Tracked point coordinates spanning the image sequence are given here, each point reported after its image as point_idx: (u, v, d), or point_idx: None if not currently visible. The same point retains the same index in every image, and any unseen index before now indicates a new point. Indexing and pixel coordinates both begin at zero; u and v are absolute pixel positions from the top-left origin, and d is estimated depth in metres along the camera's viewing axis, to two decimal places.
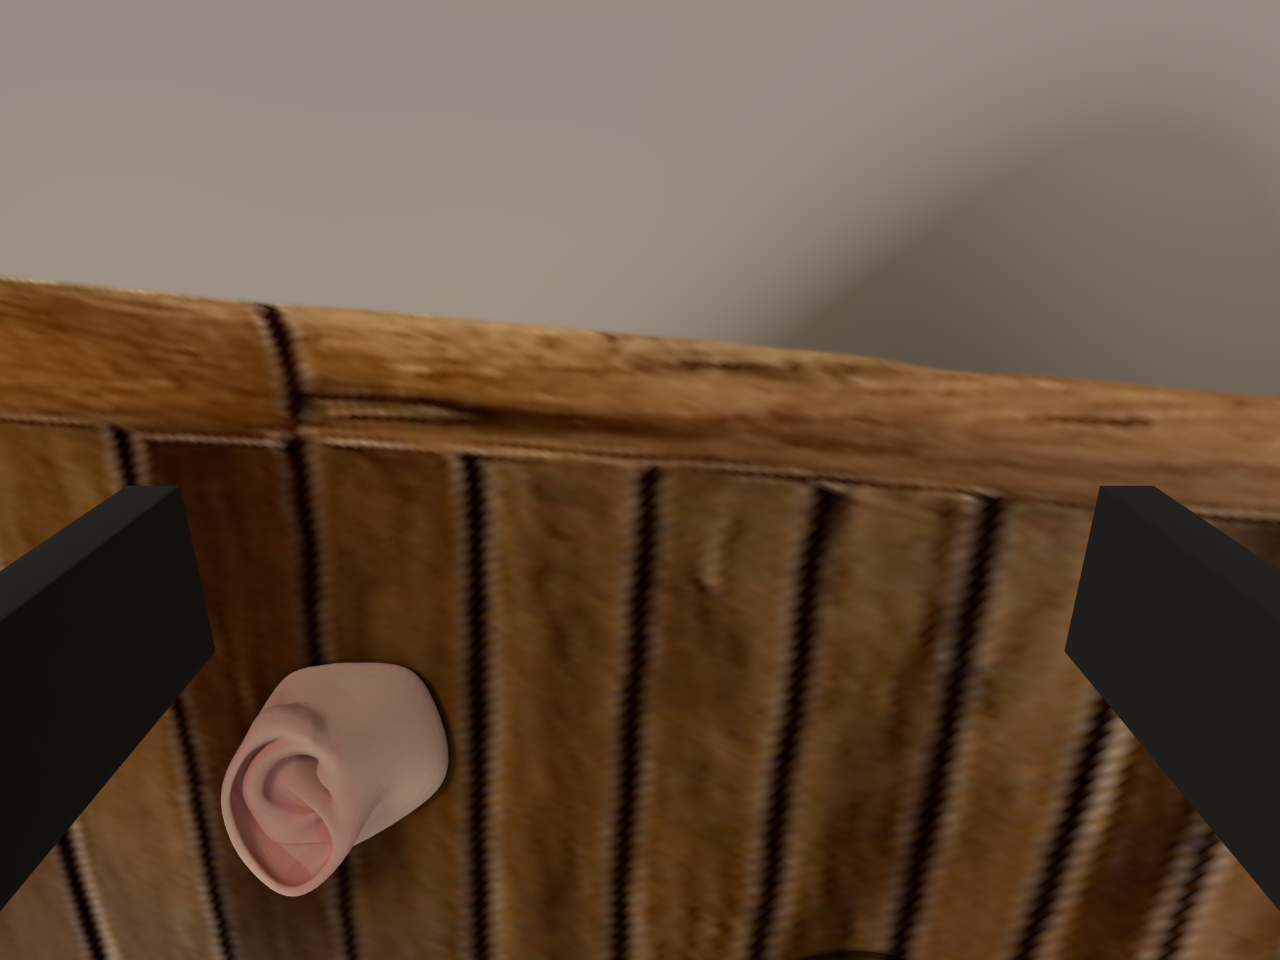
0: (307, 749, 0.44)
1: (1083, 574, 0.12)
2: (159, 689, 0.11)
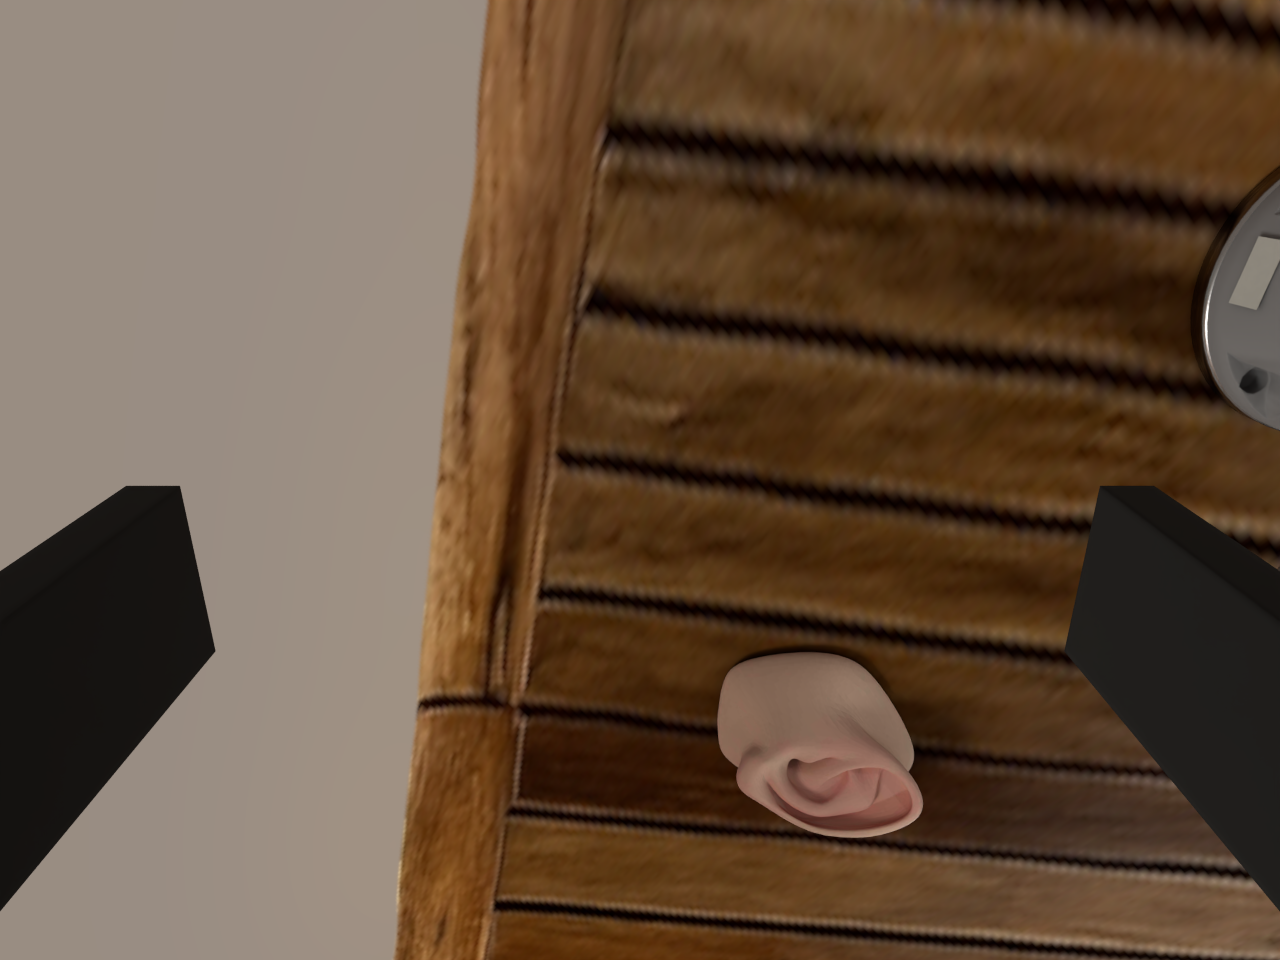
0: (776, 766, 0.52)
1: (1083, 574, 0.12)
2: (158, 689, 0.11)
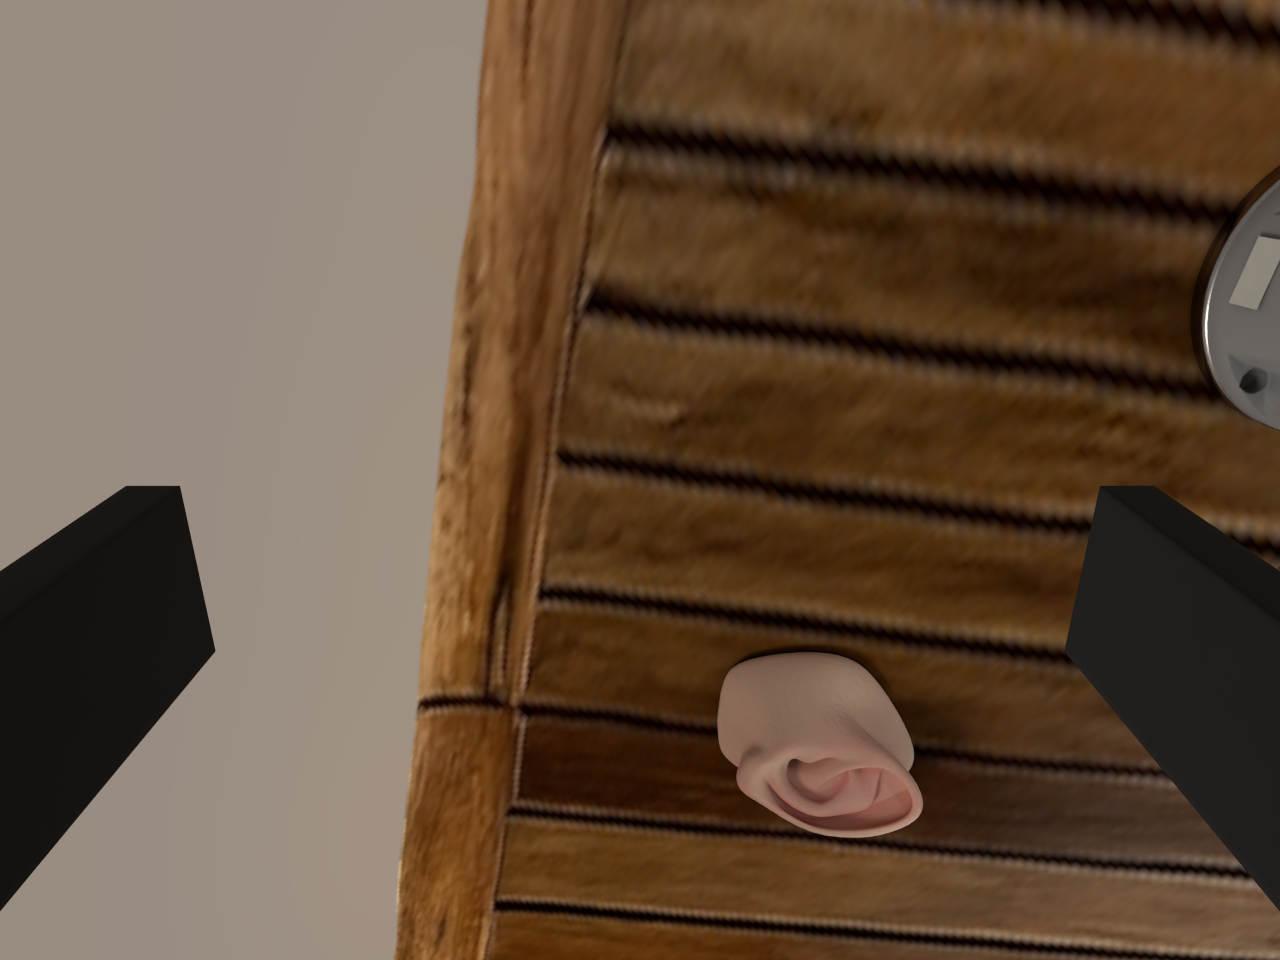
0: (776, 766, 0.52)
1: (1083, 574, 0.12)
2: (158, 689, 0.11)
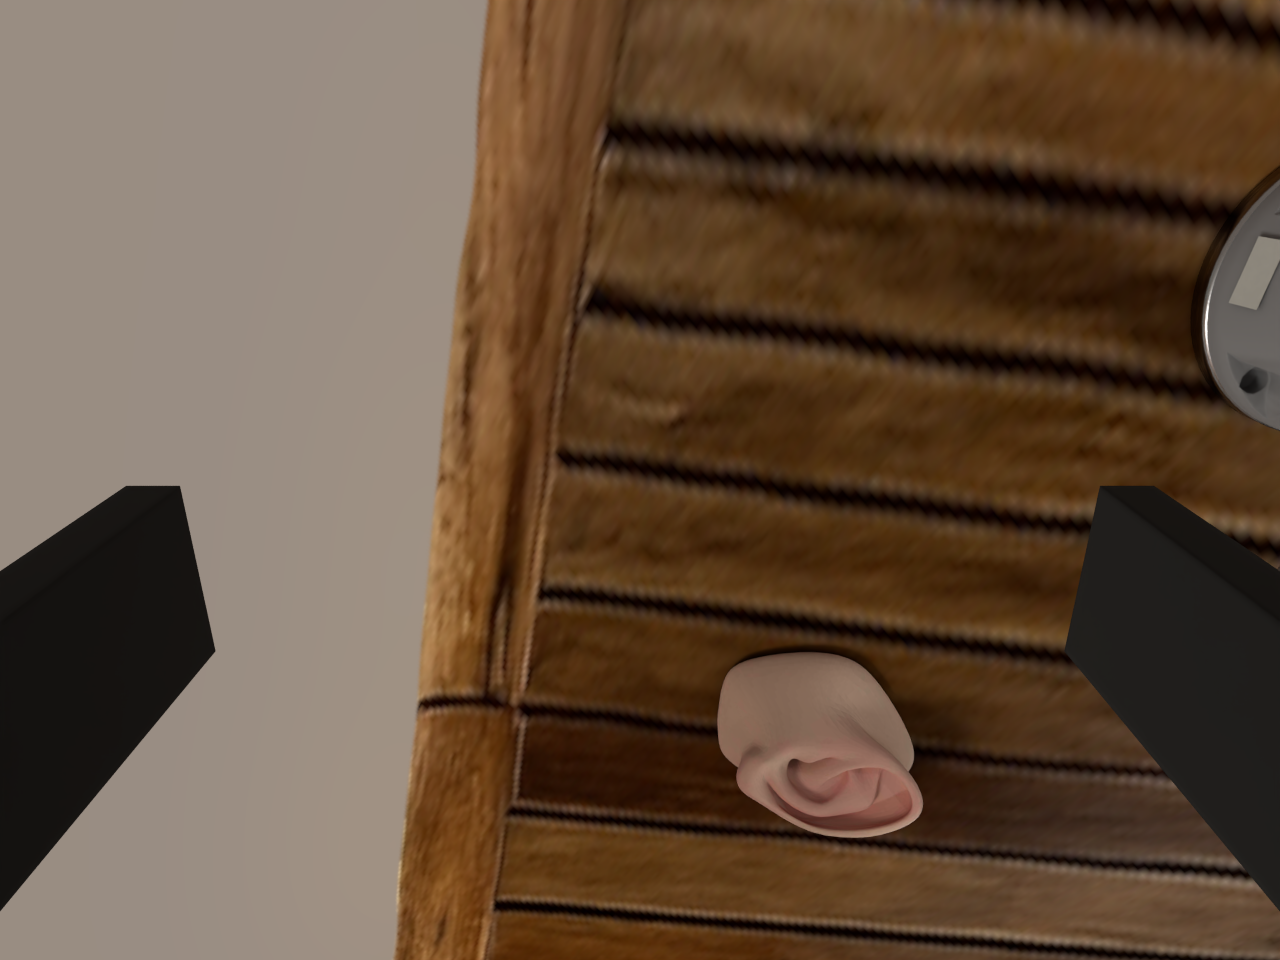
0: (776, 766, 0.52)
1: (1083, 574, 0.12)
2: (158, 689, 0.11)
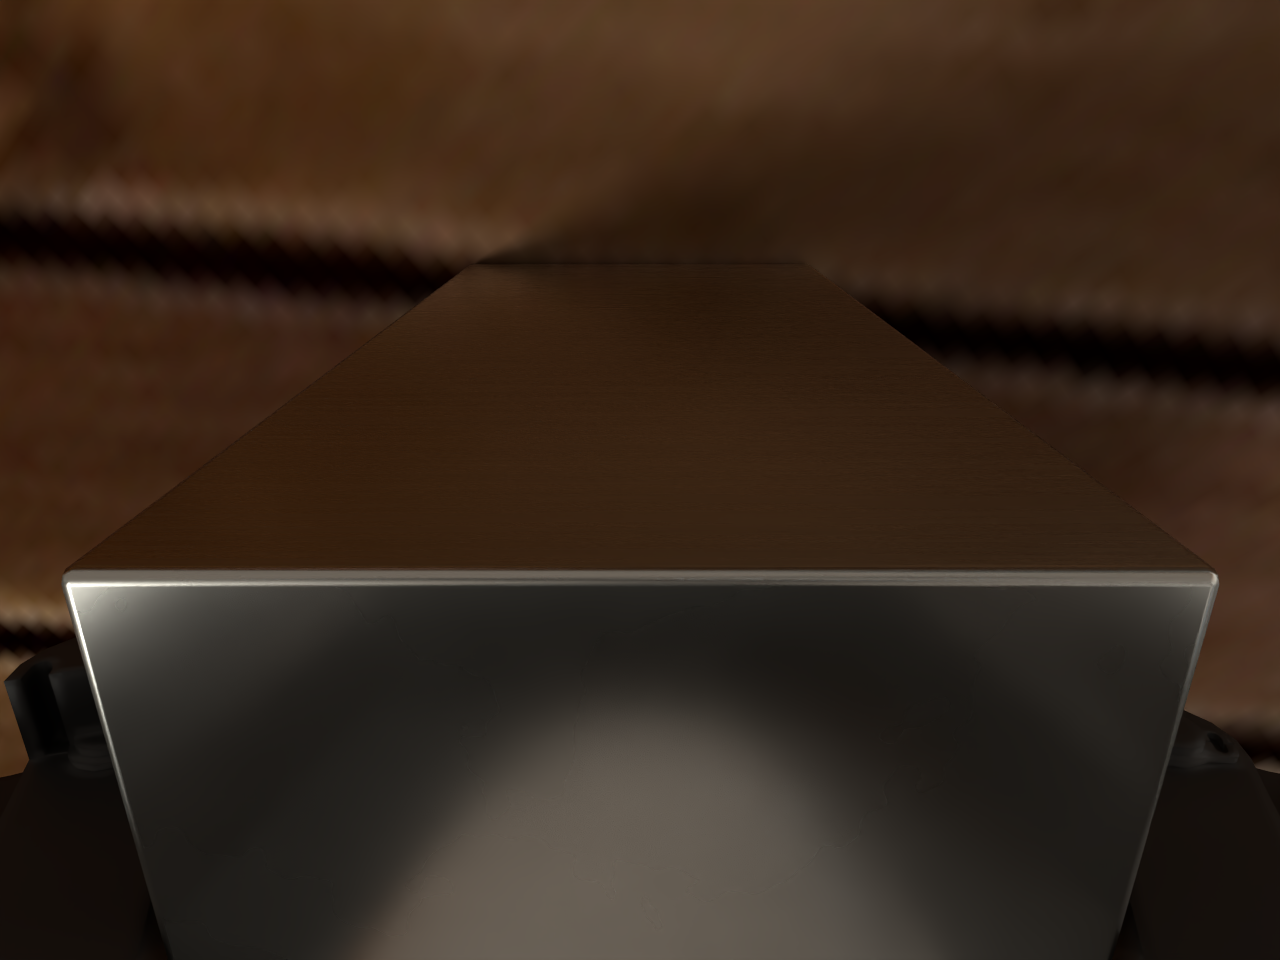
0: None
1: None
2: None
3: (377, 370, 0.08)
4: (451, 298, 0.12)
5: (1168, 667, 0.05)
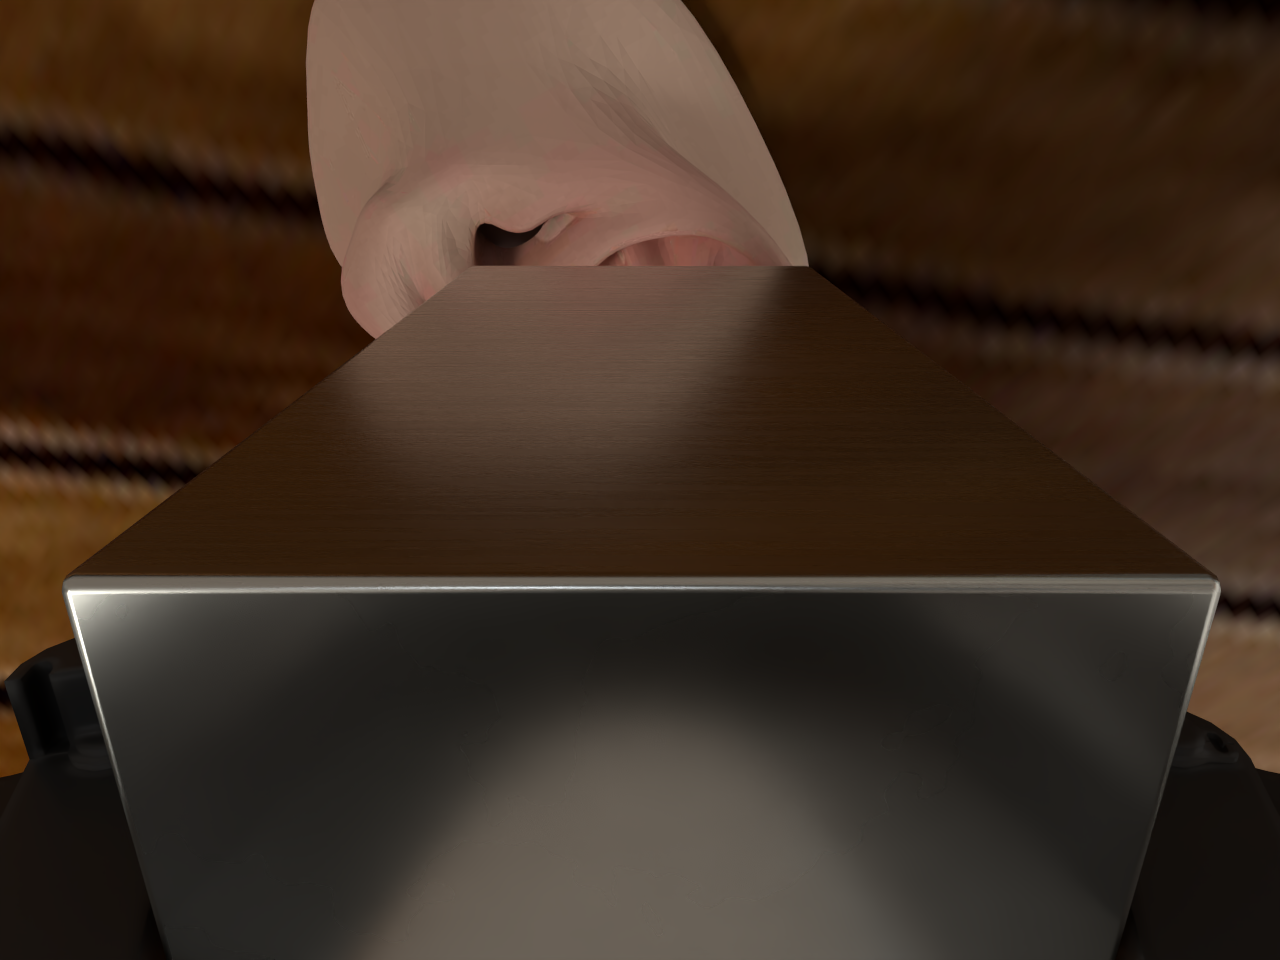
0: (428, 228, 0.19)
1: None
2: None
3: (378, 374, 0.08)
4: (451, 301, 0.12)
5: (1170, 674, 0.05)
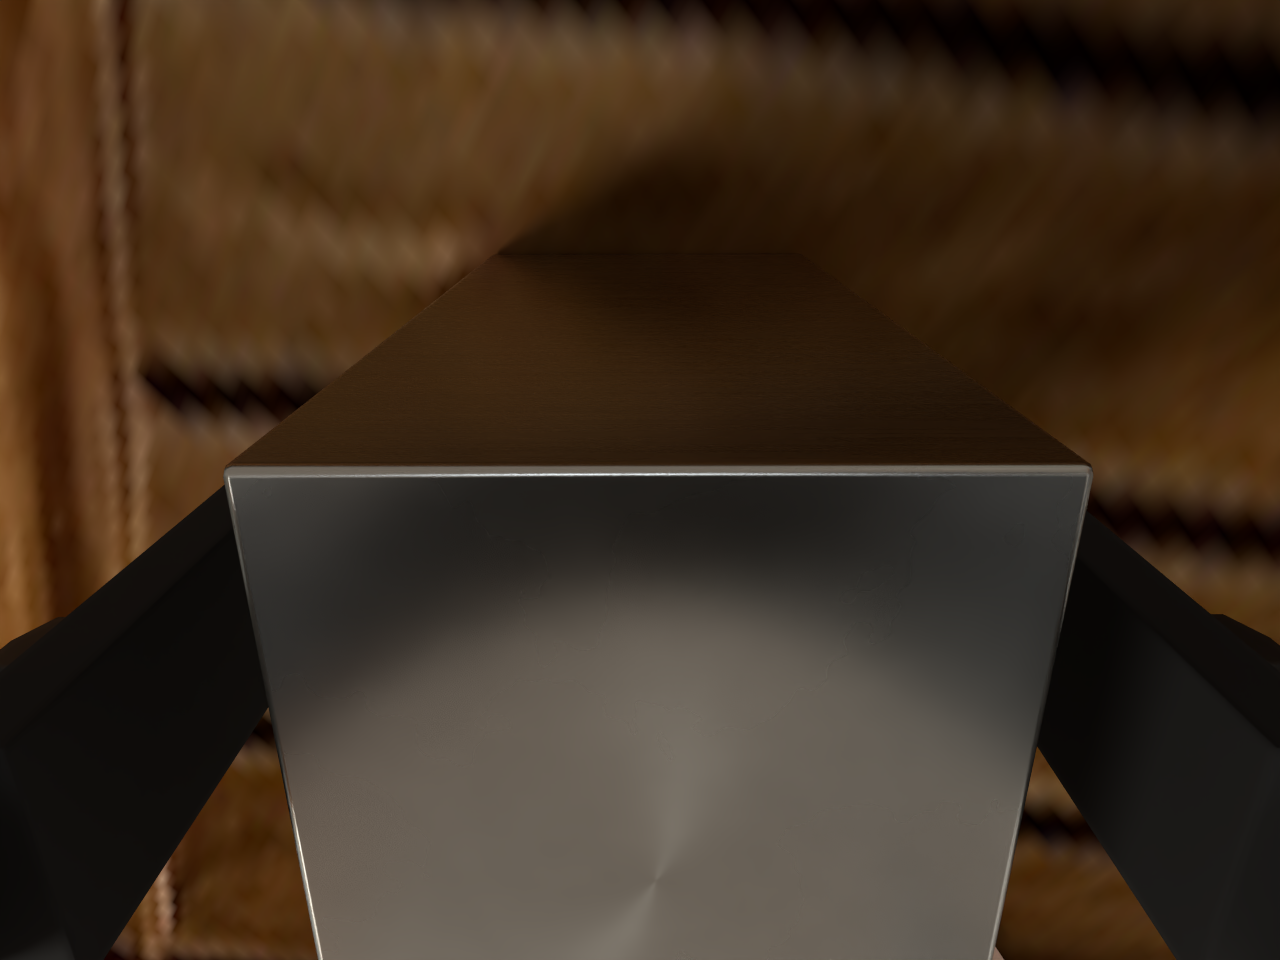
0: None
1: None
2: None
3: (428, 337, 0.10)
4: (481, 282, 0.14)
5: (1058, 541, 0.06)
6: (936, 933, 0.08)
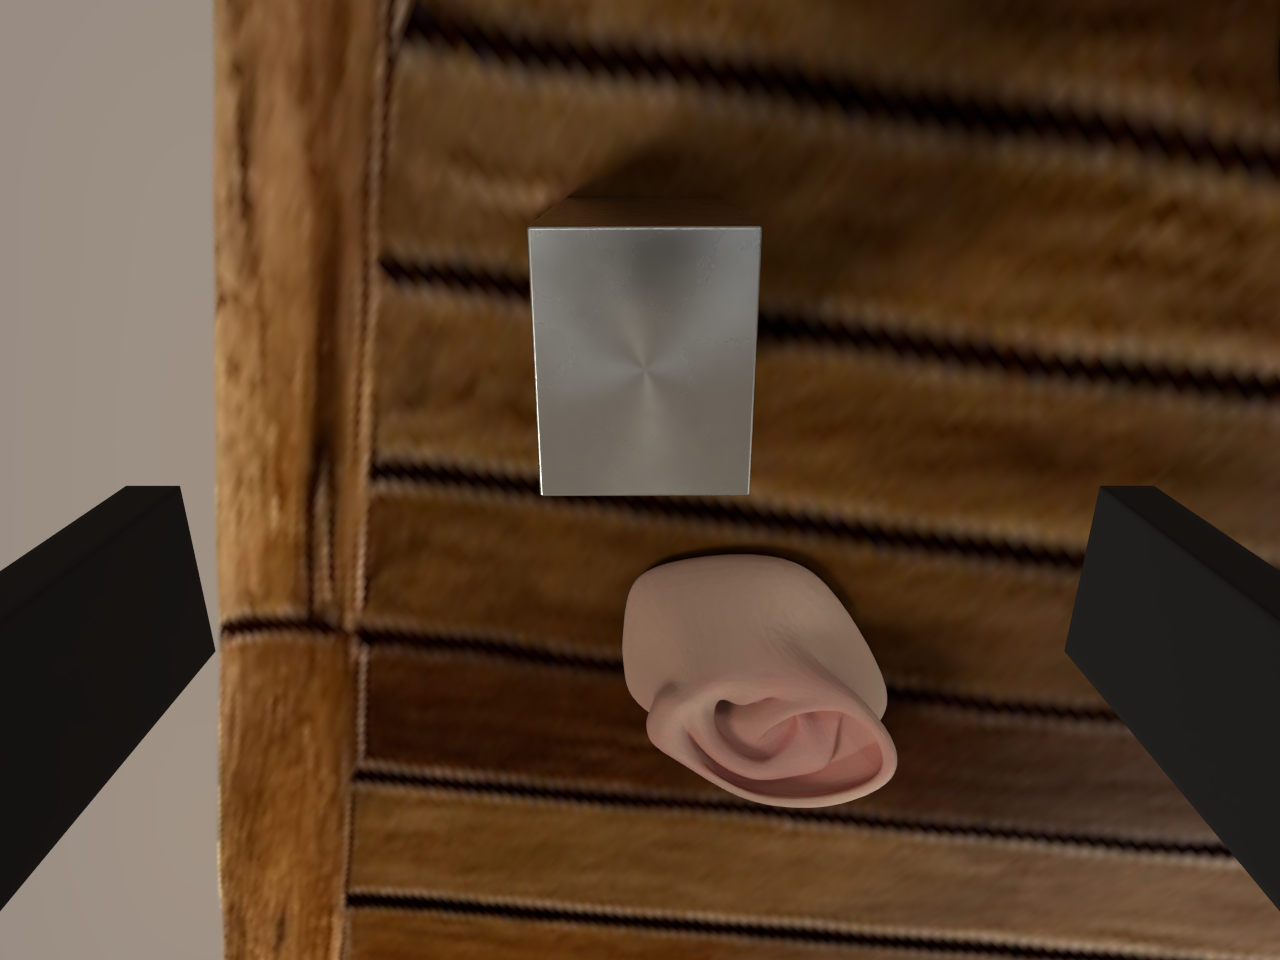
0: (697, 709, 0.38)
1: (1083, 574, 0.12)
2: (158, 689, 0.11)
3: (560, 213, 0.26)
4: (567, 203, 0.30)
5: (754, 248, 0.22)
6: (734, 390, 0.24)
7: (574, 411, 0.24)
